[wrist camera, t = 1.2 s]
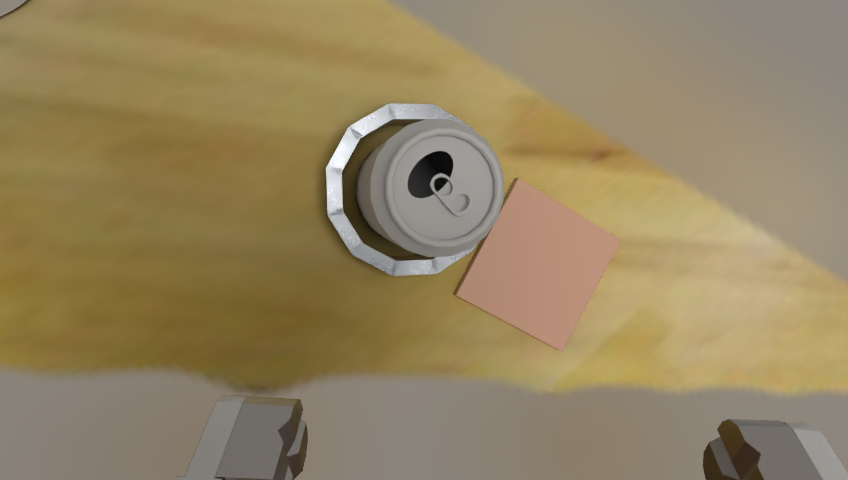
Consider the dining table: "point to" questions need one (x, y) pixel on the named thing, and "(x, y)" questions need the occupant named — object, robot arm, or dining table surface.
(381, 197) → the can
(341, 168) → the ring
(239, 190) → the dining table surface
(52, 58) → the dining table surface
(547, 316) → the tile
